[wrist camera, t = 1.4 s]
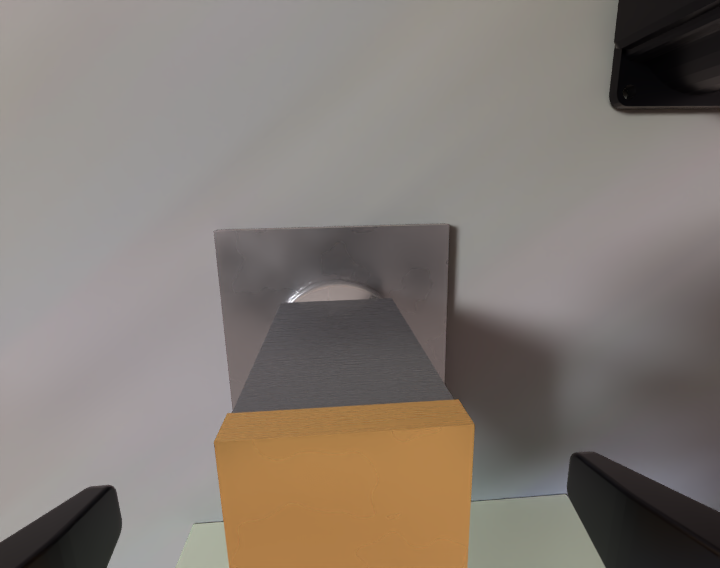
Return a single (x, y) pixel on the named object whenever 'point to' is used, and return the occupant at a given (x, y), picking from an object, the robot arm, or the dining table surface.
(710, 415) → the dining table surface
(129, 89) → the dining table surface
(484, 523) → the bin
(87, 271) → the dining table surface
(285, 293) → the stud
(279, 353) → the strut
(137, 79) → the dining table surface
